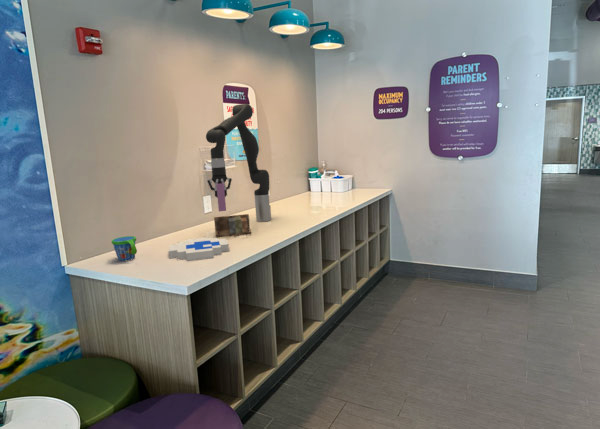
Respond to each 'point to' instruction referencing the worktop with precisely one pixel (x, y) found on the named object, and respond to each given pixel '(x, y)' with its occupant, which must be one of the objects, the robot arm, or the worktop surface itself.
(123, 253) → the snack cup
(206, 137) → the robot arm
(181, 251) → the pixel art tile
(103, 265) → the worktop surface
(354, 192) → the worktop surface
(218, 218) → the camouflage pattern block
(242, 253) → the worktop surface
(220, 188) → the plum book
